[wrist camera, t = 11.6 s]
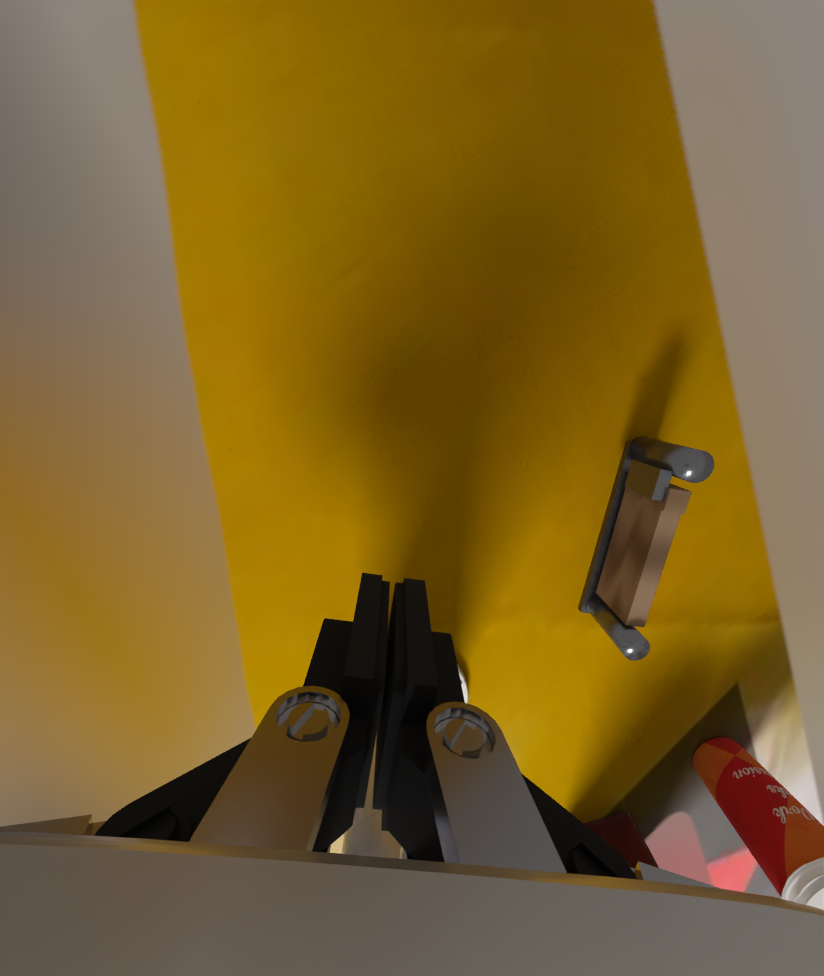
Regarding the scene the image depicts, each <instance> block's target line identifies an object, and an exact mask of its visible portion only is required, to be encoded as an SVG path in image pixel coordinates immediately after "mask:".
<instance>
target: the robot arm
mask: <svg viewBox="0 0 824 976" xmlns="http://www.w3.org/2000/svg"><path fill="white" fill-rule="evenodd" d="M389 586H390V582H387V581H382V575H376V574H368V573H362V577H361V583H360V588H359V593H358V599H357V604H356V610H355V615H354V620H353V622H350V621H342V620H334V619H326V618H325V619H324V621H323V624H322V627H321V630H320V634H319V637H318V640H317V643H316V646H315V650H314V653H313V656H312V659H311V663H310V666H309V669H308V672H307V676H306V679H305V682H304V685H303V687H298V688H295V689H292V690H289V691H287V692H285V693H284V694H282V695H281V696H279V697H278V698H277V699H276V700H275V701H274V703H273V704H272V705H271V706H270V708H269V709H268V711H267V713H266V714H265V716H264V718H263V719H262V721H261V723H260V724H259V726H258V728H257V729H256V731H255V733H254V734H253V736H252V738H250V739H248V740H246V741H244V742H243V743H241V744H239V745H237V746H235V747H233V748H231V749H230V750H228V751H226V752H224V753H222V754H220V755H219V756H217V757H215V758H213V759H211V760H209V761H207V762H205V763H204V764H202V765H200V766H198V767H196V768H194V769H193V770H191V771H189V772H187V773H185V774H183V775H182V776H180V777H178V778H176V779H174V780H172V781H170V782H169V783H167V784H165V785H163V786H161V787H159V788H157V789H155V790H154V791H152V792H150V793H148V794H146V795H144V796H142V797H141V798H139V799H137V800H135V801H133V802H132V803H130V804H128V805H127V806H125V807H124V808H122V809H121V810H119V811H118V812H116V813H115V814H113V815H112V816H111V817H110V818H109V819H108V820H107V821H104V822H97V823H93V822H92V815H85V816H77V817H70V818H62V819H55V820H47V821H39V822H32V823H24V824H17V825H10V826H2V827H0V976H824V910H822V909H819V908H816V907H812V906H808V905H804V904H800V903H796V902H792V901H788V900H784V899H779V898H775V897H770V896H763V895H757V894H750V893H744V892H738V891H732V890H726V889H720V888H717V887H714V886H711V885H708V884H705V883H702V882H699V881H696V880H693V879H690V878H687V877H684V876H681V875H678V874H675V873H672V872H669V871H666V870H663V869H660V868H657V867H654V866H651V865H648V864H645V863H642V862H639V861H638V863H637V865H636V868H635V869H634V868H631V867H630V866H629V865H628V864H627V862H626V861H625V859H624V858H623V857H622V856H621V855H620V854H619V853H618V852H617V851H616V850H615V849H613V848H612V847H611V846H610V845H609V844H608V843H607V842H605V841H604V840H603V839H602V838H601V837H599V836H598V835H597V834H596V833H594V832H593V831H592V830H591V829H589V828H588V827H587V826H586V825H584V824H583V823H582V822H581V821H579V820H578V819H577V818H576V817H575V816H573V815H572V814H571V813H570V812H568V811H567V810H566V809H565V808H563V807H562V806H561V805H560V804H558V803H557V802H556V801H555V800H554V799H552V798H551V797H550V796H549V795H547V794H546V793H545V792H544V791H542V790H541V789H540V788H539V787H537V786H536V785H535V784H534V783H532V782H531V781H530V780H529V779H528V778H526V777H525V776H524V775H523V774H521V772H520V770H519V768H518V765H517V763H516V761H515V759H514V757H513V755H512V752H511V750H510V748H509V746H508V744H507V742H506V739H505V737H504V735H503V733H502V731H501V729H500V728H499V726H498V725H497V723H496V721H495V720H494V719H493V718H492V717H490V716H489V715H488V714H487V713H486V712H484V711H483V710H481V709H479V708H478V707H476V706H473V705H470V704H468V697H469V696H468V687H467V683H466V679H465V676H464V674H463V672H462V670H461V667H460V666H459V665H458V664H457V661H456V656H455V651H454V646H453V641H452V637H451V634H449V633H441V632H433V631H431V625H430V618H429V610H428V602H427V594H426V586H425V581H422V580H414V579H406V578H404V581H403V583H396V584H395V589H394V595H393V602H392V608H391V614H390V620H389V626H388V609H389ZM343 834H344V841H343V849H342V854H337V853H330V846H331V844H332V843H333V842H334V841H336V840H337V839H338V838H339V837H340V836H341V835H343Z"/></svg>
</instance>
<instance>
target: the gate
mask: <svg viewBox="0 0 824 976" xmlns="http://www.w3.org/2000/svg"><path fill="white" fill-rule="evenodd" d="M624 491H625V492H624V496H623V499H622V503H621V506H620V510H619V513H618V517H617V520H616V524H615V527H614V531H613V534H612V538H611V541H610V545H609V548H608V552H607V555H606V559H605V562H604V566H603V569H602V573H601V576H600V580H599V583H598V587H597V590H596V593H597V594H598V595H599V596H600V597H601V598H602V600H603V601H604V602H605V603H606V604H607V605H608V606H609V607H610V608H611V609H612V610H613V612H614V613H615V614H616V615H617V616H618V617H619V618H620V619H621V620H622V621H623V622H624V624H625V625H630V626H638V627H644V626H645V623H646V620H647V616H648V613H649V610H650V607H651V604H652V601H653V598H654V595H655V592H656V589H657V586H658V583H659V579H660V576H661V573H662V570H663V567H664V564H665V561H666V558H667V555H668V552H669V549H670V546H671V543H672V539H673V536H674V533H675V530H676V527H677V524H678V521H679V518H680V515H681V514H684V513H685V510H686V507H687V504H688V501H689V498H690V495H691V491H688V490H686V489H683V488H681V487H678V486H676V485H673V484H670V483H669V486H668V489H667V492H666V495H665V499H664V501H658V500H652V499H649V498H647V497H645V496H643V495H641V494H639V493H637V492H635V491H633V490H631V489H629V488H627V487H625V490H624Z"/></svg>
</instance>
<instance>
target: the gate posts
mask: <svg viewBox="0 0 824 976" xmlns="http://www.w3.org/2000/svg"><path fill="white" fill-rule="evenodd" d="M713 468H714V460H713V457H712V456H711V455H710V454H709V453H708V452H705V451H701V450H697V449H693V448H689V447H685V446H681V445H676V444H672V443H668V442H664V441H660V440H656V439H652V438H647V437H638V438H636V439H634V440H633V441H632V442H631V443H630V442H626V445H625V448H624V452H623V455H622V459H621V462H620V466H619V469H618V473H617V476H616V480H615V483H614V487H613V490H612V494H611V497H610V500H609V504H608V507H607V511H606V514H605V518H604V521H603V525H602V528H601V532H600V535H599V539H598V542H597V545H596V549H595V552H594V556H593V559H592V563H591V566H590V570H589V573H588V577H587V580H586V584H585V587H584V590H583V594H582V597H581V601H580V604H579V608H578V609H579V610H580V612H584V613H590V614H591V615H592V616H593V617H594V619H595V620H596V621H597V622H598V623H599V625H600V626H601V627H602V628H603V630H604V631H605V632H606V633H607V635H608V636H609V637H610V638H611V640H612V641H613V642H614V643H615V644H616V646H617V647H618V648H619V649H620V651H621V652H622V653H623V654H624V656H625V657H626V658H628V659H629V660H640V659H642V658H644V657H645V656H646V655H647V654H648V652H649V649H650V645H649V642H648V641H647V640H646V639H645V638H644V637H643V636H642V635H641V634H640V632H639V631H638V630H637V629H636V628H635V627H634V626H630V625H625V624H624V622H623V621H622V620H621V619H620V618H619V617H618V616H617V615H616V614H615V613H614V612H613V610H612V609H611V608H610V607H609V606H608V605H607V604H606V603H605V602H604V601H603V600H602V598H601V597H600V596H599V595H598V594H597V593H596V590H597V587H598V583H599V580H600V576H601V573H602V569H603V566H604V562H605V559H606V555H607V552H608V548H609V545H610V541H611V538H612V534H613V531H614V527H615V524H616V520H617V517H618V513H619V510H620V506H621V503H622V499H623V496H624V492H625V491H624V490H625V487H627V488H629V489H631V490H633V491H635V492H637V493H639V494H641V495H643V496H645V497H647V498H649V499H652V500H658V501H664V499H665V495H666V492H667V489H668V486H669V483H670V480H671V477H672V476H674V477H677V478H680V479H683V480H686V481H688V482H692V483H698V482H702V481H704V480H705V479H707V478H708V477H709V476H710V474H711V473H712V471H713Z"/></svg>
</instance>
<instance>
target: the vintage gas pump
mask: <svg viewBox="0 0 824 976" xmlns="http://www.w3.org/2000/svg"><path fill="white" fill-rule="evenodd" d="M584 825H586V826H587V827H588V828H589V829H591V830H592V831H593V832H594V833H596V834H597V835H598V836H599V837H601V838H602V839H603V840H604V841H605V842H607V843H608V844H609V845H610V846H611V847H612V848H613V849H615V850H616V851H617V852H618V853H619V854H620V855H621V856H622V857H623V858H624V859H625V861H626V862H627V864H628V865H629V866H630V867H631V868H634V869H635V868H636V865H637V863H638V861H639V862H642V863H645V864H648V865H651V866H654V867H657V868H659V867H658V865H657V863H656V862H655V860H654V858H653V856H652V854H651V852H650V850H649V848H648V846H647V845H646V843H645V841H644V839H643V837H642V835H641V833H640V831H639V829H638V828H637V826H636V824H635V822H634V820H633V818H632V816H631V814H630V813H629V812H628V811H626V812H622V813H619V814H616V815H612V816H609V817H605V818H602V819H598V820H595V821H592V822H588V823H585V824H584Z"/></svg>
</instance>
